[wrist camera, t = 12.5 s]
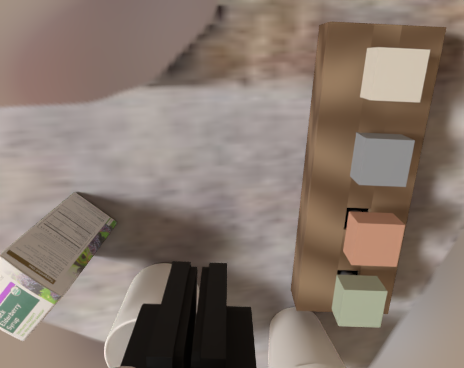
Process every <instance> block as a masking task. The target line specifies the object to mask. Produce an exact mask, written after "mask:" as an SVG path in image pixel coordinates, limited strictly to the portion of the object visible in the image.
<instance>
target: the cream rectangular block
mask: <svg viewBox="0 0 464 368" xmlns="http://www.w3.org/2000/svg"><path fill="white" fill-rule="evenodd" d="M429 54H430V50H426V49H406V48H385V47H374V48H367V52H366V59H365V66H364V73H363V79H362V86H361V93H360V97H361V98H365V99H368V100H375V101H397V102H419V103H420V100H421V95H422V90H423V85H424V79H425V74H426V69H427V64H428V59H429Z"/></svg>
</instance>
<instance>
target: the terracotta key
mask: <svg viewBox="0 0 464 368" xmlns="http://www.w3.org/2000/svg"><path fill="white" fill-rule="evenodd" d="M346 218H347V220H348V221H347V228H346V234H345V241H344V248H343V252H344V253H345V255H346V257H347V259H348V260H349V262H350V264H351V265H362V266H389V267H397V263H398V258H399V253H400V248H401V243H402V238H403V233H404V228H405V224H404V223H403V222H402V221H400V220H399V219H398V218H397V217H396V216H395V215H394V214H393V213H377V212H361V211H360V210H359V209H357V208H352V209H350V210H349V211H348V212H347V214H346Z"/></svg>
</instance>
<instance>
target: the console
mask: <svg viewBox="0 0 464 368" xmlns="http://www.w3.org/2000/svg"><path fill="white" fill-rule="evenodd" d="M445 32H446V27H428V26H408V25H387V24H367V23H347V22H327V23H325V24H322V25H319V34H318V43H317V52H316V62H315V71H314V80H313V89H312V99H311V108H310V117H309V126H308V136H307V145H306V154H305V163H304V173H303V182H302V191H301V201H300V210H299V219H298V228H297V238H296V247H295V256H294V265H293V275H292V284H291V292H292V296H293V299H294V303H295V307H296V311H317V312H333V311H332V303H333V296H334V289H335V283H336V276H337V271H338V270H353V271H358V274H357V275H363V276H377V277H378V278H379V280H380V281H381V282H382V284H383V285H384V287H385V288H386V290H387V296H386V301H385V306H384V311H383V314H388V311H389V306H390V301H391V296H392V291H393V286H394V282H395V277H396V272H397V267H398V263H397V267H389V266H362V265H351V264H350V262H349V260H348V259H347V257H346V255H345V253H344V252H343V248H344V241H345V234H346V228H347V227H344V224H345V217H346V210H347V208H369V209H368V212H377V213H393V214H394V215H395V216H396V217H397V218H398V219H399V220H400V221H402V222H403V223H404V224H405V228H406V223H407V218H408V213H409V208H410V203H411V198H412V193H413V189H414V184H415V179H416V174H417V169H418V164H419V159H420V154H421V149H422V145H423V140H424V135H425V130H426V125H427V120H428V115H429V110H430V105H431V100H432V96H433V91H434V86H435V81H436V76H437V71H438V66H439V61H440V56H441V52H442V47H443V42H444V37H445ZM374 47H385V48H406V49H426V50H430V54H429V59H428V64H427V69H426V74H425V79H424V85H423V90H422V95H421V100H420V103H419V102H397V101H375V100H368V99H365V98H361V97H360V93H361V86H362V79H363V73H364V66H365V59H366V52H367V48H374ZM356 132H359V133H381V134H402V135H404V136H406V137H408V138H411V139H413V140H415V143H414V148H413V153H412V158H411V163H410V168H409V173H408V178H407V184H406V187H396V186H371V185H359V184H357V183H356V182H355V181H354V180H353V179H352V178H351V177H350V172H351V165H352V158H353V151H354V144H355V138H356ZM405 228H404V233H405ZM404 233H403V238H404ZM403 238H402V242H403ZM401 247H402V243H401ZM400 252H401V248H400ZM399 257H400V253H399ZM398 262H399V258H398Z"/></svg>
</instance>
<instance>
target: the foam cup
mask: <svg viewBox="0 0 464 368" xmlns="http://www.w3.org/2000/svg"><path fill="white" fill-rule="evenodd" d="M268 368H346V367H345V365H344V363H343V361H342V360H341V358H340V356H339V354H338V353H337V351H336V349H335V347H334V345H333V344H332V342H331V340H330V338H329V337H328V335H327V333H326V331H325V329H324V328H323V326H322V324H321V322H320V321H319V319H318V318H317V316H316V314H314V313H313V312H311V311H296V307H291V308H285V309H283V310H282V311H280V312H279V313H277V314H276V315H275V316H274V318H273V319H272V321H271V323H270V329H269V354H268Z"/></svg>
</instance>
